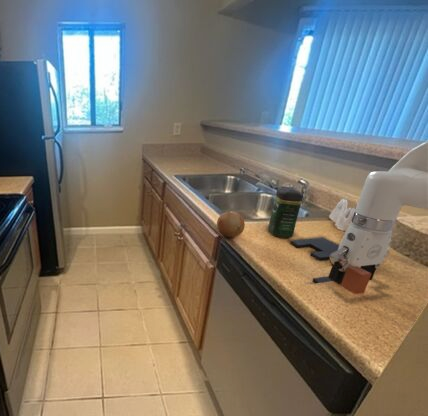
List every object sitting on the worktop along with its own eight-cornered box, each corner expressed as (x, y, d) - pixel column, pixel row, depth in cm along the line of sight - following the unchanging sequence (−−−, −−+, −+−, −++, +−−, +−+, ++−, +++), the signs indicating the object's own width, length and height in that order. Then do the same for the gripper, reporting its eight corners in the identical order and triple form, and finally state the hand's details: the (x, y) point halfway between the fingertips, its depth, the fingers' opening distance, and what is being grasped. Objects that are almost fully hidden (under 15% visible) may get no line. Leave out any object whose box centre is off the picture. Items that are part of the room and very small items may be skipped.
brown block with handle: (357, 275, 82) (366, 254, 79) (397, 297, 73) (407, 274, 70) (312, 281, 79) (318, 260, 77) (346, 305, 70) (355, 281, 67)
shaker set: (326, 220, 120) (334, 196, 116) (338, 221, 119) (346, 196, 115) (339, 231, 109) (348, 205, 105) (352, 232, 108) (361, 206, 104)
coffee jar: (295, 240, 103) (307, 193, 96) (271, 237, 105) (282, 191, 98) (287, 229, 111) (298, 185, 105) (265, 227, 114) (275, 184, 107)
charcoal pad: (321, 240, 103) (322, 237, 102) (354, 256, 92) (355, 253, 91) (289, 243, 100) (290, 240, 100) (319, 260, 89) (320, 257, 89)
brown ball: (230, 244, 100) (234, 219, 97) (209, 233, 109) (212, 210, 105) (248, 238, 104) (253, 214, 101) (227, 228, 113) (231, 206, 109)
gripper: (359, 230, 63) (336, 291, 69) (418, 225, 66) (391, 284, 72) (328, 218, 70) (310, 274, 76) (383, 213, 73) (361, 268, 79)
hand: (349, 279), depth 74 cm, fingers open, 9 cm apart
